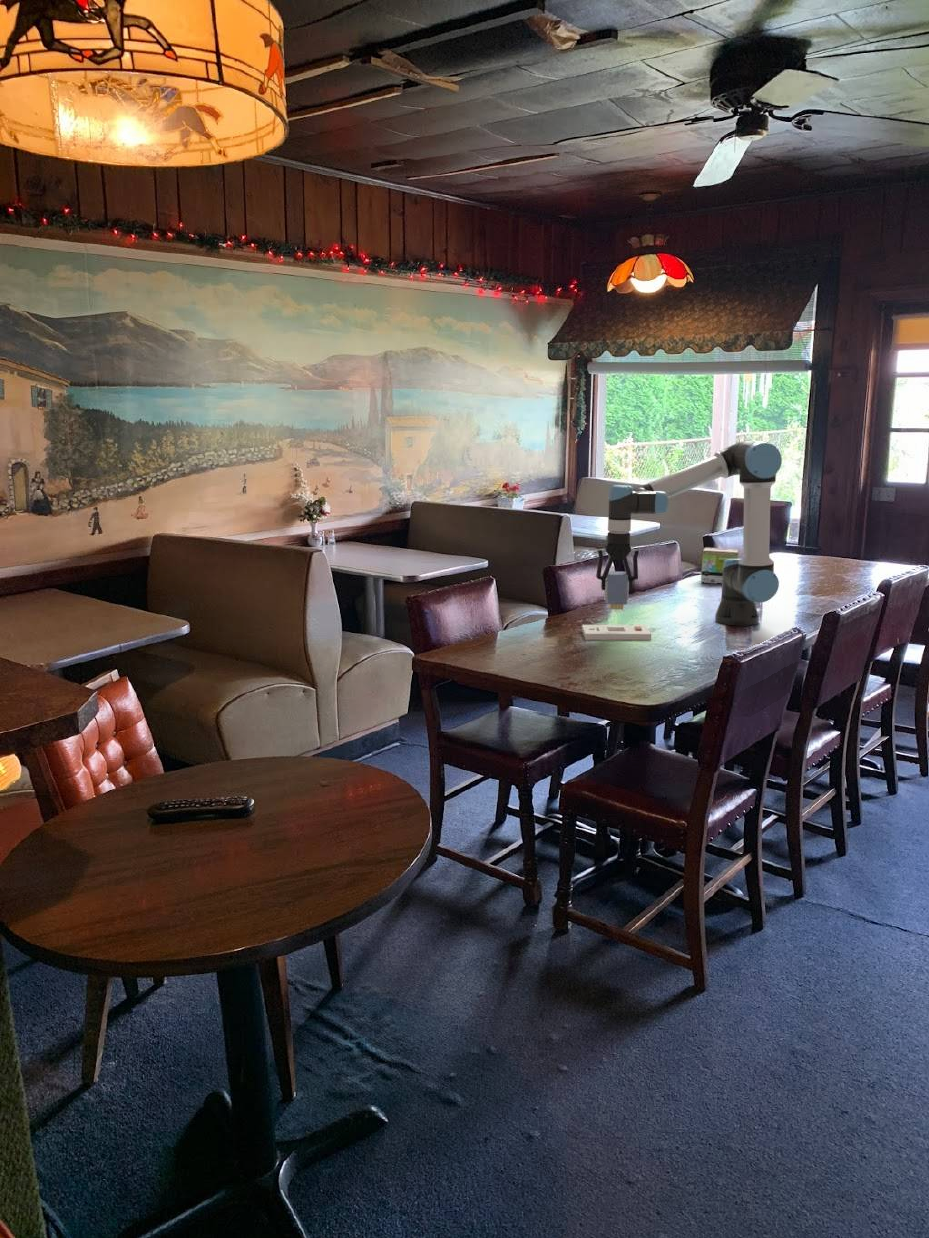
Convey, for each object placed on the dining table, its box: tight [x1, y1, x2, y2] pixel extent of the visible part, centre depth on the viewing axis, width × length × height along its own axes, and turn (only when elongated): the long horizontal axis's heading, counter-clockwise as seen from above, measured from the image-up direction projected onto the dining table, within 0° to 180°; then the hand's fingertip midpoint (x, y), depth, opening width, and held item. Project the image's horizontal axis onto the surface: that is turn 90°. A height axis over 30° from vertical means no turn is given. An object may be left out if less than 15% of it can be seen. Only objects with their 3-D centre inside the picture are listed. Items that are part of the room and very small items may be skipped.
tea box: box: [700, 547, 740, 584], centre depth 411 cm, size 15×10×15 cm, turn 72°
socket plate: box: [581, 624, 652, 641], centre depth 319 cm, size 22×13×3 cm, turn 88°
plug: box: [605, 570, 628, 610], centre depth 316 cm, size 6×6×12 cm
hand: (616, 599), depth 316 cm, fingers closed on plug, 6 cm apart
